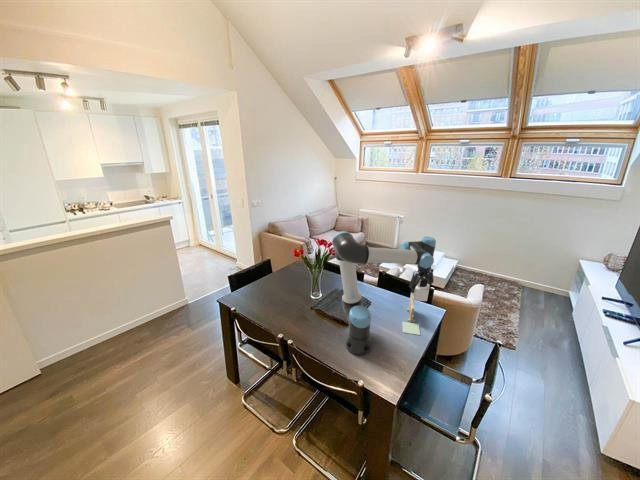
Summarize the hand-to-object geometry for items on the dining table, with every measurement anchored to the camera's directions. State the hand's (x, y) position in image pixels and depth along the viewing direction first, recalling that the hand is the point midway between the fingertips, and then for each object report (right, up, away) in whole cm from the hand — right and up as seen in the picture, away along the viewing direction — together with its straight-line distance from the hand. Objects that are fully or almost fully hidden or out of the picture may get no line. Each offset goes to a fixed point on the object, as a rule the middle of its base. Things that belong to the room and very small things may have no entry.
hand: (419, 294), depth 163 cm
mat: (-4, -21, +2) cm, 22 cm away
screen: (-1, -17, +14) cm, 22 cm away
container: (0, -2, +1) cm, 2 cm away
